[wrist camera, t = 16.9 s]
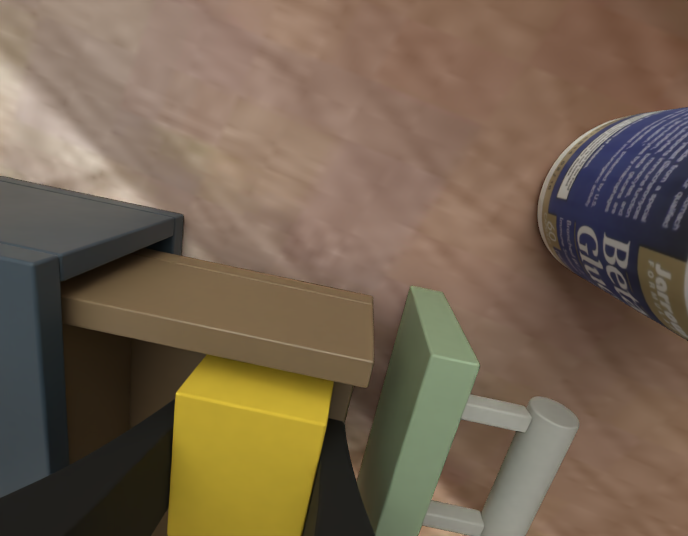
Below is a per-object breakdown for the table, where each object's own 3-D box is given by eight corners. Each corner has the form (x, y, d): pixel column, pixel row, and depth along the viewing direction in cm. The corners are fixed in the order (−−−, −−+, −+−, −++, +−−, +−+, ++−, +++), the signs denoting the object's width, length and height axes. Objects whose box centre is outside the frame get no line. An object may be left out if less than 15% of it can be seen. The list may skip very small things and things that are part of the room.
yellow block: (313, 464, 14) (295, 564, 10) (215, 443, 14) (165, 536, 10) (339, 350, 12) (327, 425, 9) (228, 326, 12) (174, 392, 9)
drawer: (559, 316, 13) (660, 403, 8) (475, 513, 16) (516, 656, 11) (130, 225, 13) (3, 263, 8) (127, 438, 16) (33, 550, 11)
